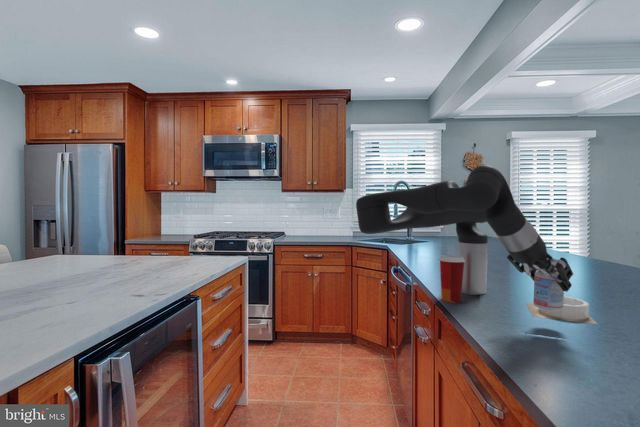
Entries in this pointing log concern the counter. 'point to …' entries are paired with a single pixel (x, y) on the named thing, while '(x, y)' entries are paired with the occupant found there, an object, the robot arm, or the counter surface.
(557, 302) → the pill bottle
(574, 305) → the dish
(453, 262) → the paper cup
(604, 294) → the counter surface
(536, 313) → the mat
